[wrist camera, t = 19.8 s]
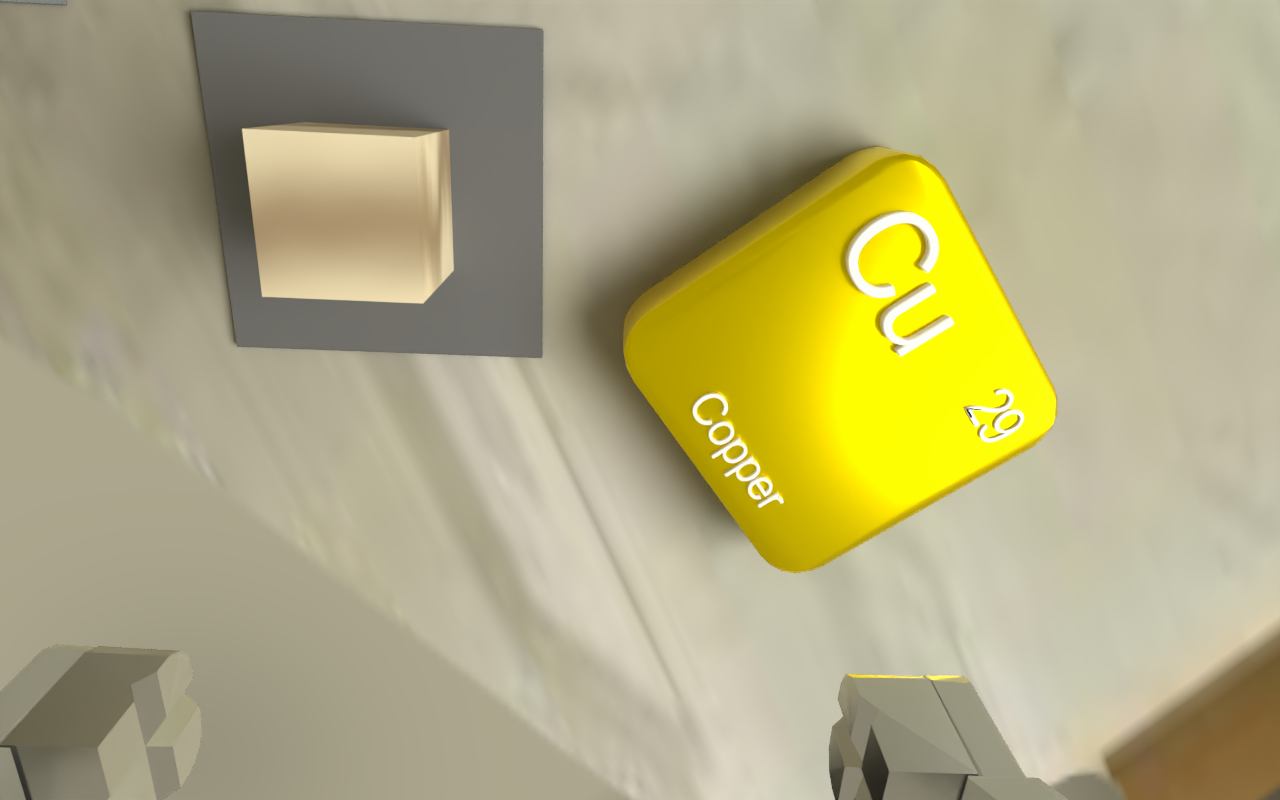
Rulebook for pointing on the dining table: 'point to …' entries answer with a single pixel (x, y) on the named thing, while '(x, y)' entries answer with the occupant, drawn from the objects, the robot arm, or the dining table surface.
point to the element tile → (840, 360)
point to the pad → (398, 97)
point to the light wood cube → (350, 210)
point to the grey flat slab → (39, 1)
